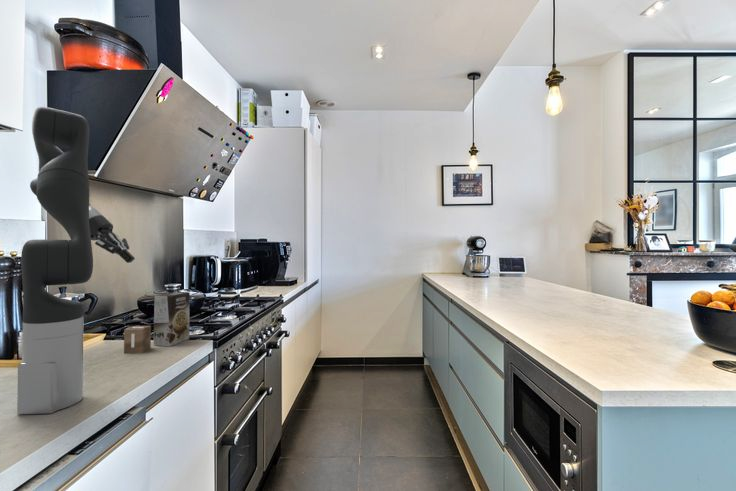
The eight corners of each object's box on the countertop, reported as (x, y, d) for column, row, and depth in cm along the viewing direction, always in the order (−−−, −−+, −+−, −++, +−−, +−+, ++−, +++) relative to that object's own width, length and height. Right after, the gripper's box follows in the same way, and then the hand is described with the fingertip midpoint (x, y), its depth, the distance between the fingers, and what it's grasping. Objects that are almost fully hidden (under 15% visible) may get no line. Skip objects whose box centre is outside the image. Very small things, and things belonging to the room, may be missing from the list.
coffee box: (170, 346, 111) (170, 295, 111) (152, 345, 112) (153, 295, 112) (190, 339, 120) (190, 292, 120) (173, 338, 121) (174, 291, 121)
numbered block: (141, 353, 104) (141, 329, 104) (123, 353, 104) (123, 329, 104) (150, 348, 109) (150, 325, 109) (133, 348, 109) (133, 325, 109)
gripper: (85, 212, 106) (128, 253, 107) (113, 216, 119) (151, 252, 120) (66, 229, 106) (109, 270, 107) (97, 231, 119) (134, 267, 120)
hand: (131, 260), depth 113 cm, fingers closed
